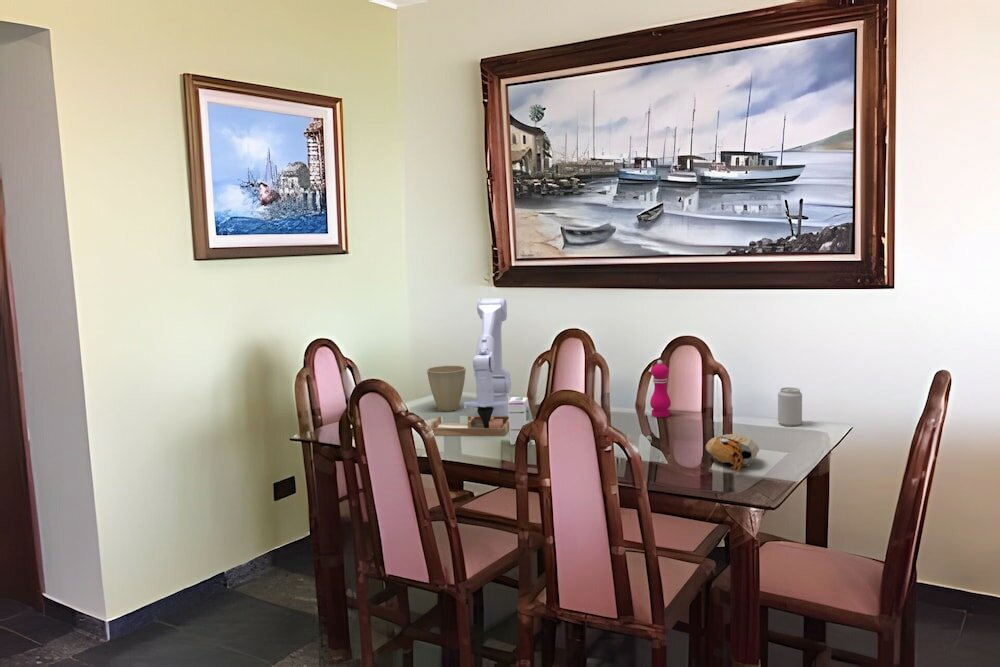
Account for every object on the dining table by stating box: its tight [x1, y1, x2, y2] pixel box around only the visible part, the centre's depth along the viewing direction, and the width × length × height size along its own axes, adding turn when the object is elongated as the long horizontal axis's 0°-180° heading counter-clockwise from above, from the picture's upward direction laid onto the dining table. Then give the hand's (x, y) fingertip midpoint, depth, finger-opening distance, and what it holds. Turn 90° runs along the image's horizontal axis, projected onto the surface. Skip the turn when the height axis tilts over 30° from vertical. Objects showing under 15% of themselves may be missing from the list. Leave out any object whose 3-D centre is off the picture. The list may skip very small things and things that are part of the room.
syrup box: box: [508, 396, 530, 446], centre depth 259 cm, size 6×6×14 cm
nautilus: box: [705, 433, 760, 474], centre depth 227 cm, size 8×22×15 cm
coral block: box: [489, 419, 503, 428], centre depth 271 cm, size 4×4×4 cm
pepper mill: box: [649, 359, 672, 418], centre depth 285 cm, size 7×7×20 cm
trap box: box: [428, 415, 509, 437], centre depth 277 cm, size 17×27×3 cm, turn 80°
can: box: [777, 386, 803, 427], centre depth 267 cm, size 8×8×12 cm
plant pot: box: [426, 365, 466, 412], centre depth 309 cm, size 15×15×16 cm
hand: (486, 428), depth 272 cm, fingers closed
